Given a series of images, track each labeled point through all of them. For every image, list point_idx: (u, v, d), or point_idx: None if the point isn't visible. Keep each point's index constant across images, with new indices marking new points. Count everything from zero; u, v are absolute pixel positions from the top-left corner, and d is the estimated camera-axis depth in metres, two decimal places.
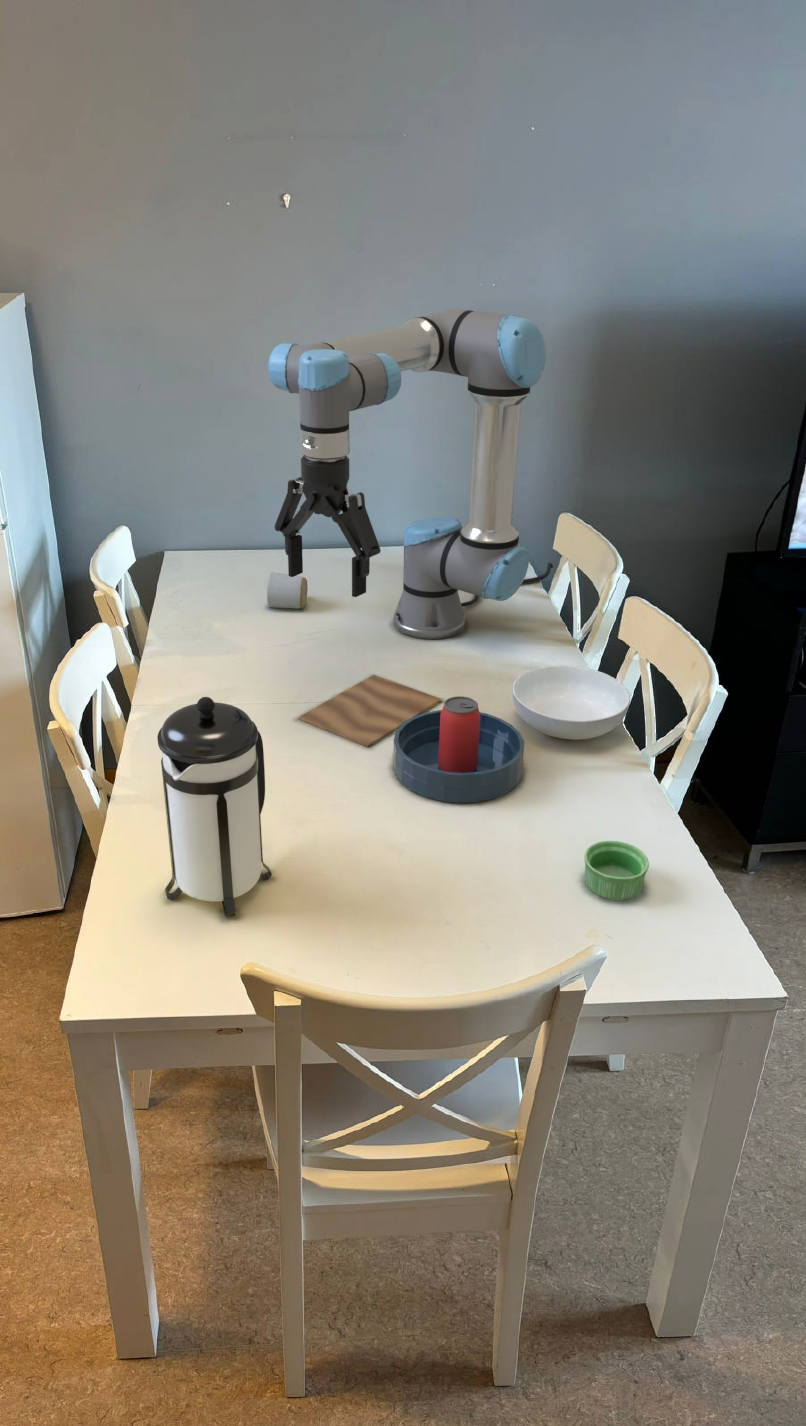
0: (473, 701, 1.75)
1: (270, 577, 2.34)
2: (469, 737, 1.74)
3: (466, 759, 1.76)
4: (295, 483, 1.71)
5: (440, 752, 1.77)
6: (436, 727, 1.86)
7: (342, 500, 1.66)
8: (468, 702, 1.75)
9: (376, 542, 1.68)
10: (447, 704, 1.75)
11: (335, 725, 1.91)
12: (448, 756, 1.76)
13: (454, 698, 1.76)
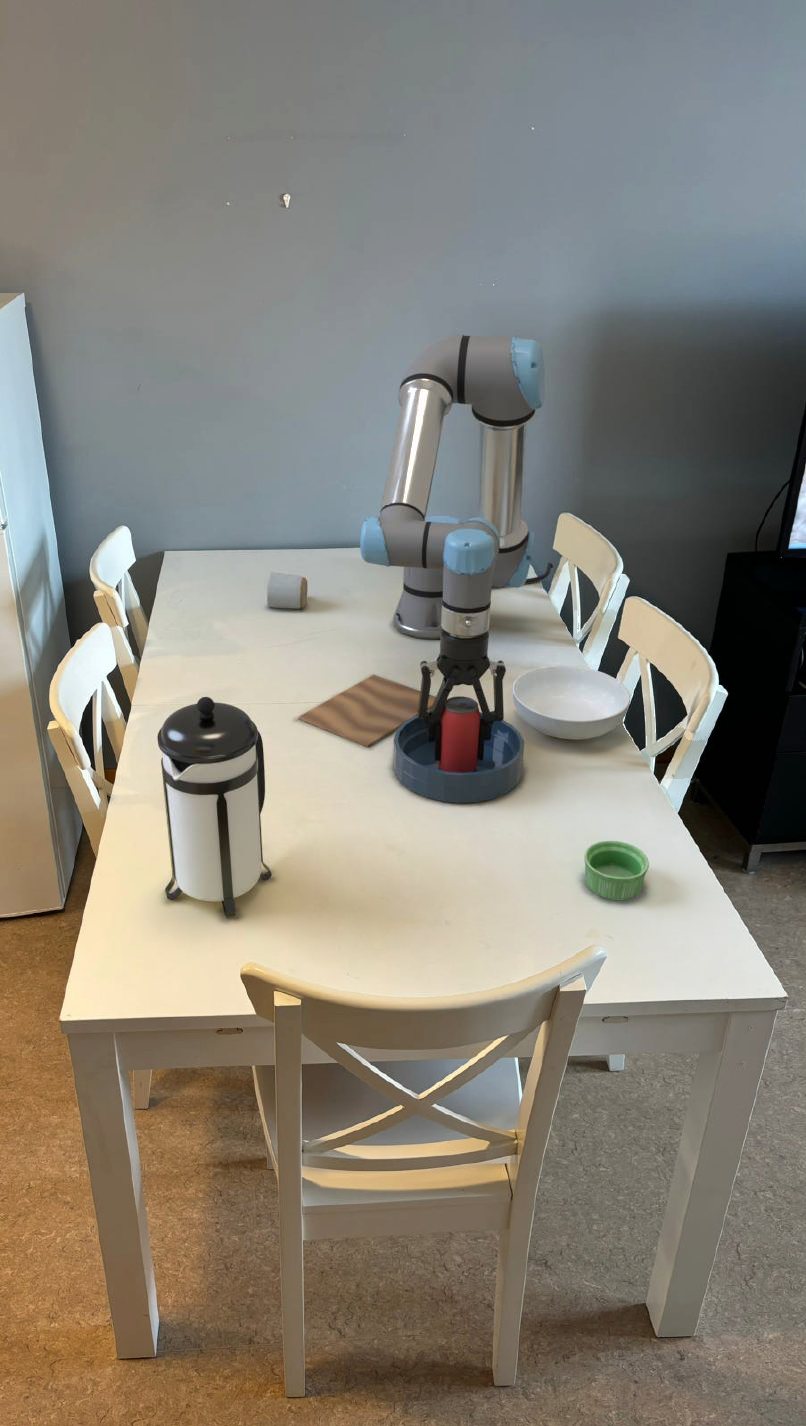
0: (473, 701, 1.75)
1: (270, 577, 2.34)
2: (469, 737, 1.74)
3: (466, 759, 1.76)
4: (427, 667, 1.70)
5: (440, 752, 1.77)
6: None
7: (488, 668, 1.71)
8: (468, 702, 1.75)
9: None
10: (447, 704, 1.75)
11: (335, 725, 1.91)
12: (448, 756, 1.76)
13: (454, 698, 1.76)
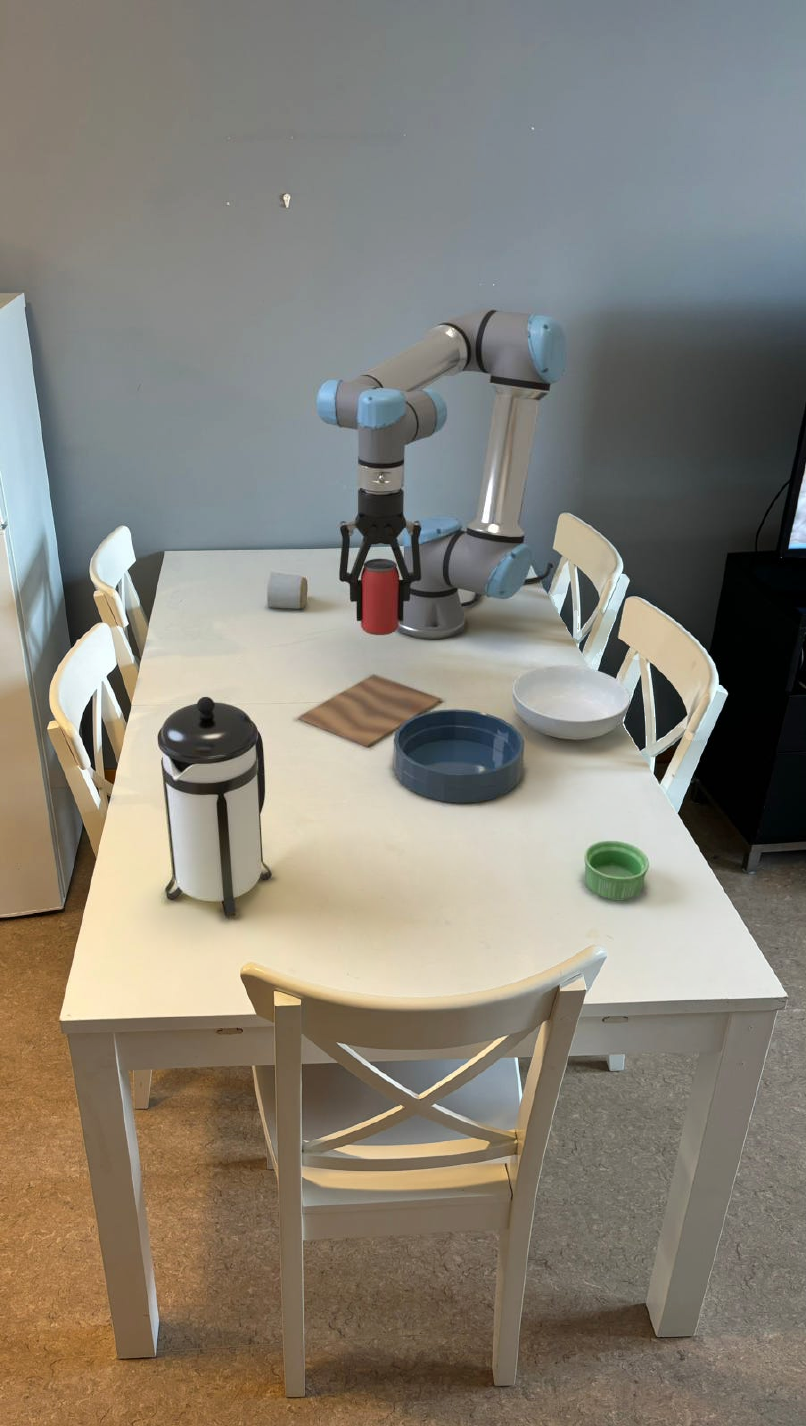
0: (393, 562, 1.83)
1: (270, 577, 2.34)
2: (388, 595, 1.82)
3: (386, 618, 1.84)
4: (346, 526, 1.78)
5: (362, 613, 1.85)
6: (436, 727, 1.86)
7: (404, 527, 1.78)
8: (387, 563, 1.83)
9: None
10: (367, 565, 1.82)
11: (335, 725, 1.91)
12: (369, 615, 1.83)
13: (375, 560, 1.84)
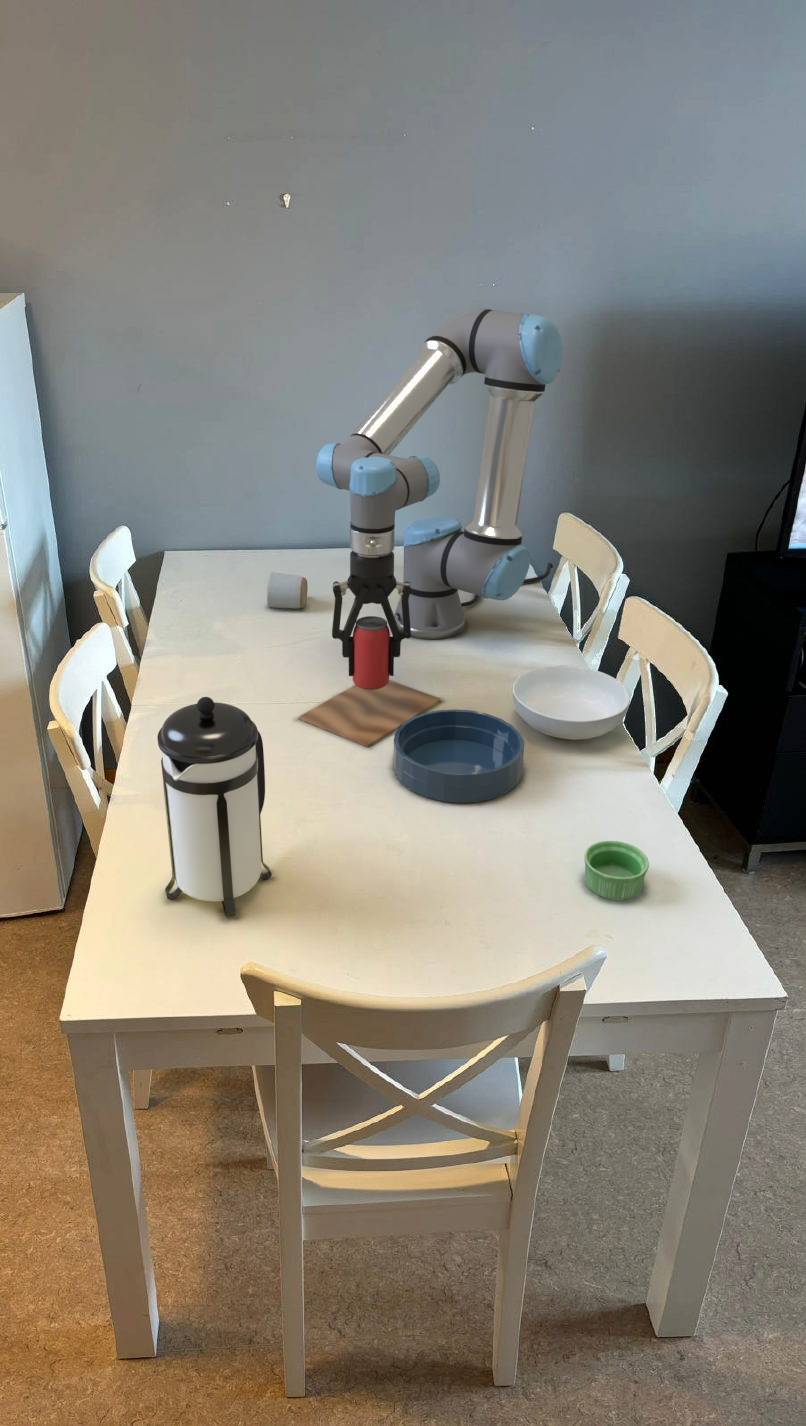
0: (384, 620, 1.90)
1: (270, 577, 2.34)
2: (379, 652, 1.89)
3: (377, 674, 1.90)
4: (339, 587, 1.85)
5: (353, 668, 1.92)
6: (436, 727, 1.86)
7: (394, 588, 1.85)
8: (379, 621, 1.90)
9: None
10: (359, 622, 1.89)
11: (335, 725, 1.91)
12: (360, 671, 1.90)
13: (366, 617, 1.91)
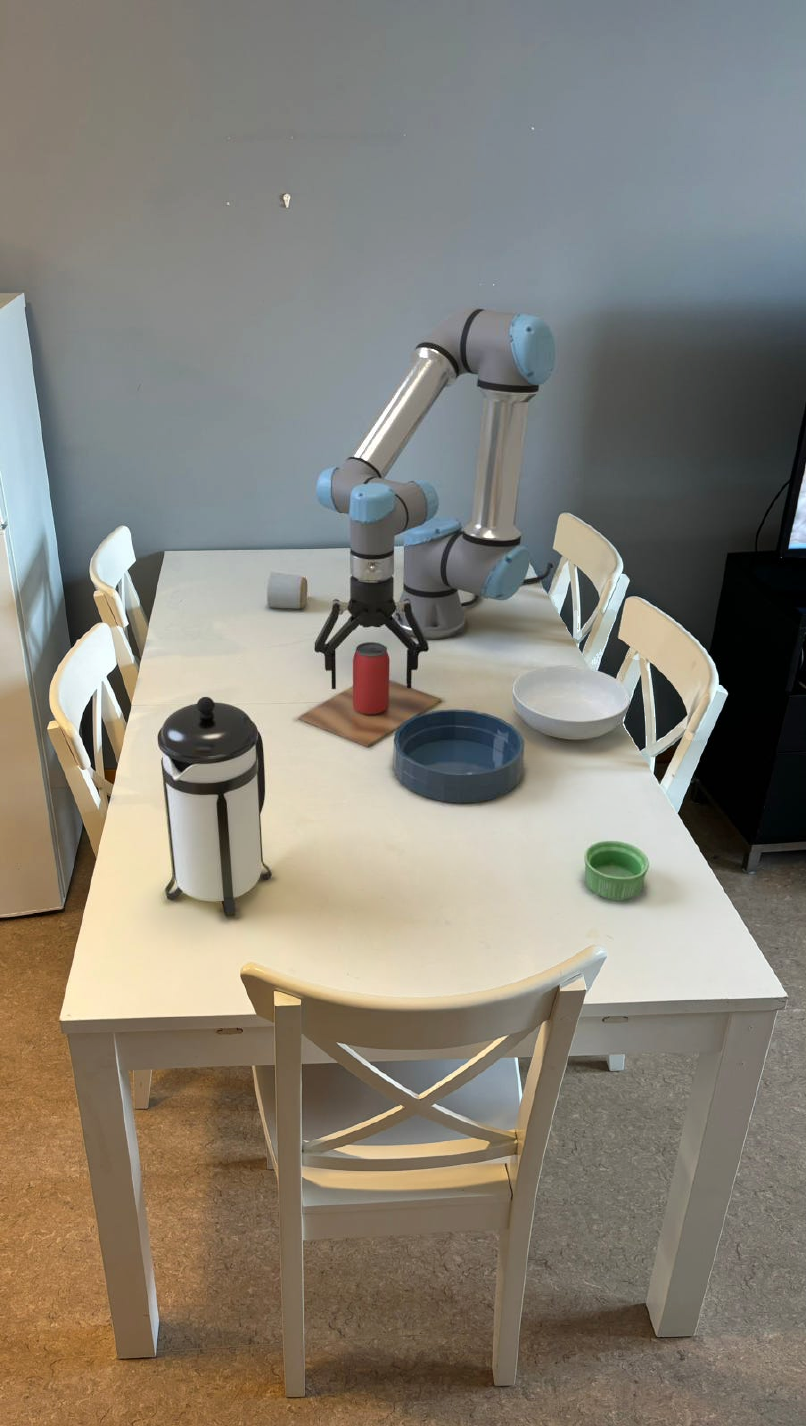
0: (383, 646, 1.93)
1: (270, 577, 2.34)
2: (379, 678, 1.91)
3: (377, 699, 1.93)
4: (339, 605, 1.86)
5: (354, 693, 1.94)
6: (436, 727, 1.86)
7: (395, 609, 1.87)
8: (378, 647, 1.93)
9: (424, 637, 1.92)
10: (359, 649, 1.92)
11: (335, 725, 1.91)
12: (361, 696, 1.93)
13: (366, 643, 1.94)
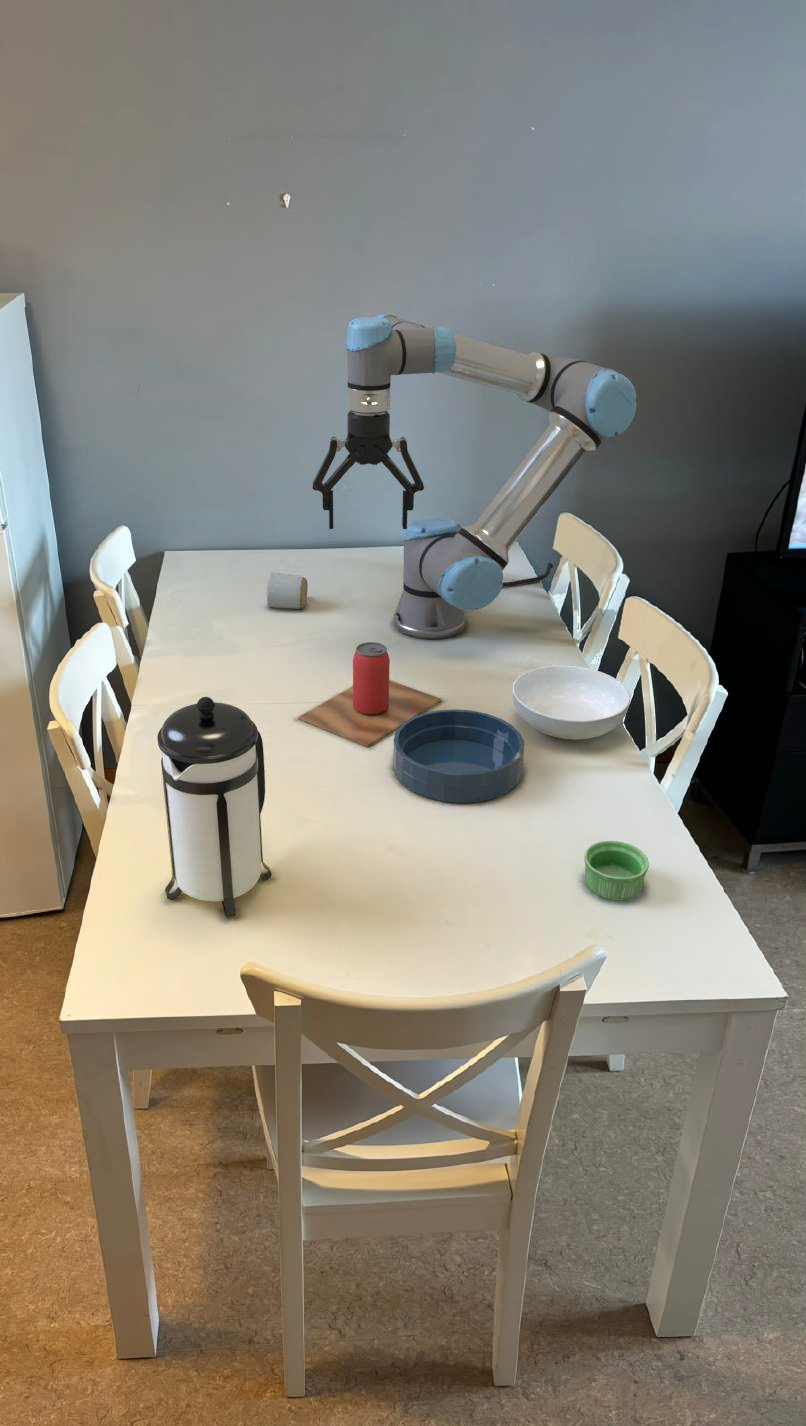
0: (383, 646, 1.93)
1: (270, 577, 2.34)
2: (379, 678, 1.91)
3: (377, 699, 1.93)
4: (336, 442, 1.91)
5: (354, 693, 1.94)
6: (436, 727, 1.86)
7: (391, 446, 1.92)
8: (378, 647, 1.93)
9: (420, 477, 1.97)
10: (359, 649, 1.92)
11: (335, 725, 1.91)
12: (361, 696, 1.93)
13: (366, 643, 1.94)
